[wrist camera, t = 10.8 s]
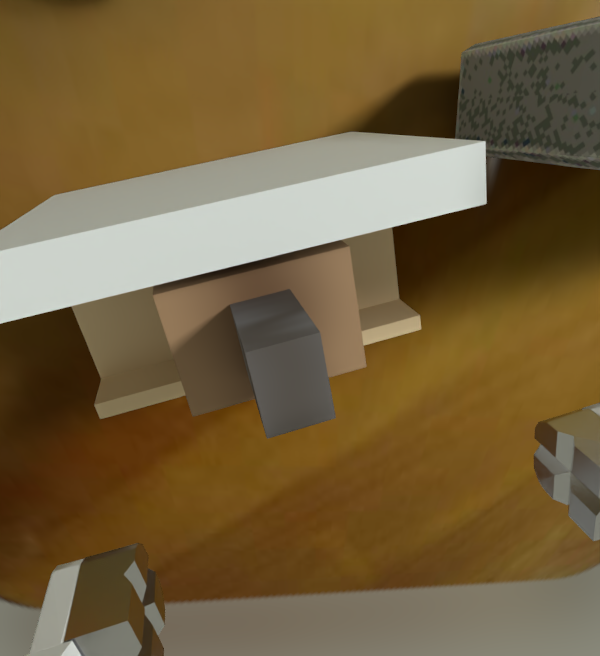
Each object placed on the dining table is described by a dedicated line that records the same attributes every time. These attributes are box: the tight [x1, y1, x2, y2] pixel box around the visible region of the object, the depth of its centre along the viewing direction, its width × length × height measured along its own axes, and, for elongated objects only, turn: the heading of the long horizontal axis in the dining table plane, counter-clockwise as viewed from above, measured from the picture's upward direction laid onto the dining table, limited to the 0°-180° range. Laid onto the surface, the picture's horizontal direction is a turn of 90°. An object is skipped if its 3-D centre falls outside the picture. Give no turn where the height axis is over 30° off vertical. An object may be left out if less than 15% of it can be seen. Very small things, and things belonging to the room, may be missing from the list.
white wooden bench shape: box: [0, 132, 487, 419], centre depth 22 cm, size 16×9×13 cm, turn 101°
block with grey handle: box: [153, 240, 366, 439], centre depth 19 cm, size 7×5×11 cm
